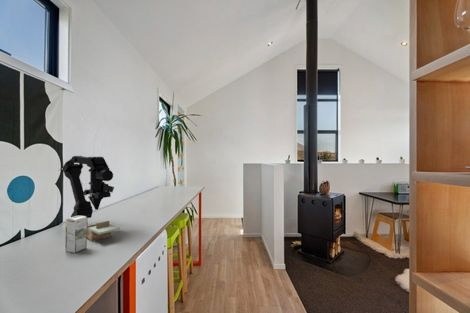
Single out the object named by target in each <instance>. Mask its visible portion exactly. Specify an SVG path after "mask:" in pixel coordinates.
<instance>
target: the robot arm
mask: <svg viewBox="0 0 470 313" xmlns="http://www.w3.org/2000/svg"><path fill="white" fill-rule="evenodd" d="M84 165H86V167H89V169H88V172H90V173H89V176H90V181H89V182H88V185H90V187H89V189H85V190H84V188H83V185H82V180H81V174H82V170H83V168H84ZM62 172H63V173H64V176H65V177H66V178H67V179H69V182H70V186H71V191H72V194H73V197H74V201H75V204H74V205H73V206H74V207H73V211H72V213H71V215H70V218H71V217H75V216H85V217H87V219H90V218H92V216H93V210H99V208H100V206H101V202H102V200H103V199H106V198H111V193H113V192H114V189H115V187H114V186H111V185H109V183H106V182H110V181H111V180H113V178H114V173H113V171H112V170H111V169H110V167H109V165H108V163H107V161H106V160H105V158H104V156H83V155H73V156H72V157H71V158H70V159H69V160H67V161H66V162H65V163H64V165H63V166H62ZM87 195H88V196H87ZM86 196H87V198H88V199H89V200H88V201H87V199H86ZM92 206H93V207H92ZM93 208H94V209H93ZM87 226H89V225H88V221H87Z"/></svg>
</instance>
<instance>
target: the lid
mask: <svg viewBox="0 0 470 313" xmlns="http://www.w3.org/2000/svg"><path fill="white" fill-rule="evenodd" d="M95 224H96V226H94V227H89V228H88V230H90V231H92V232H95V233H97V234H99V235H100V234H104V233H108V232H111V233H112V232H115V231H119V230H121V229H120V227H119V226H116V225H114V224H110V220H107V221H101V222H97V223H95Z"/></svg>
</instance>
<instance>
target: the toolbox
mask: <svg viewBox="0 0 470 313" xmlns="http://www.w3.org/2000/svg"><path fill="white" fill-rule="evenodd" d="M94 226H96V223H94V224H92V225H91V224H90V225H88V226H87V240H89V241H90V242H96V241H100V240H103V239H108V238H110V237H112V232H108V233H104V234H100V235H99V234H97V233H95V232H92V231H90V230H88V228H89V227H94Z"/></svg>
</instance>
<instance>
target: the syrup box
mask: <svg viewBox="0 0 470 313" xmlns="http://www.w3.org/2000/svg"><path fill="white" fill-rule="evenodd" d="M87 222H88V218H87V217H85V216H75V217H71V216H70V217H67V218H65V250H64V251H65V252H67V253H73V254H75V253H78V252H81V251H84V250H85V249H87V246H88V245H87V244H88V243H87V240H88V239H87Z"/></svg>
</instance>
